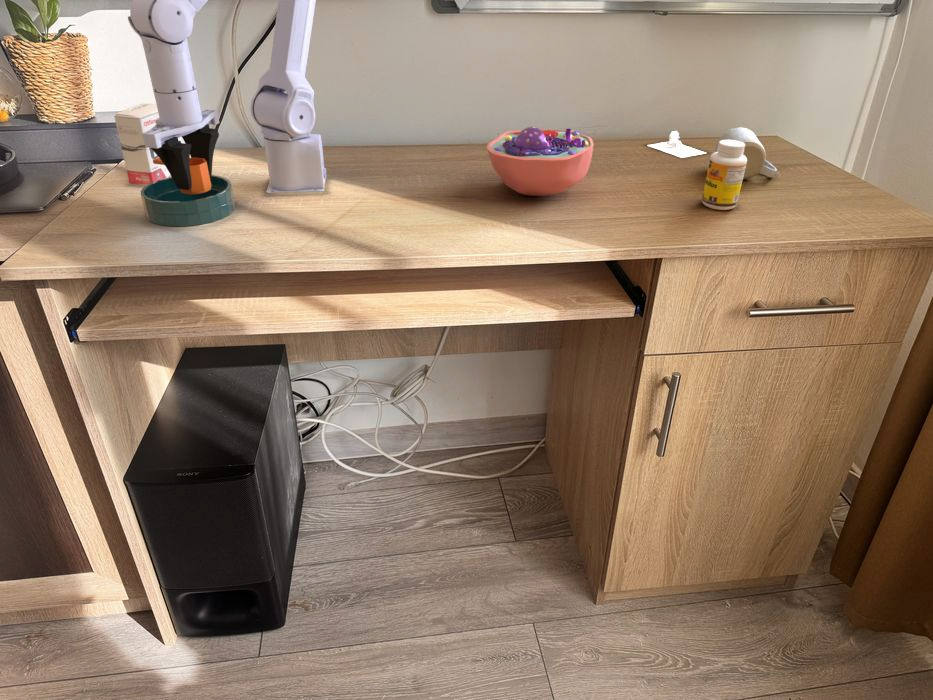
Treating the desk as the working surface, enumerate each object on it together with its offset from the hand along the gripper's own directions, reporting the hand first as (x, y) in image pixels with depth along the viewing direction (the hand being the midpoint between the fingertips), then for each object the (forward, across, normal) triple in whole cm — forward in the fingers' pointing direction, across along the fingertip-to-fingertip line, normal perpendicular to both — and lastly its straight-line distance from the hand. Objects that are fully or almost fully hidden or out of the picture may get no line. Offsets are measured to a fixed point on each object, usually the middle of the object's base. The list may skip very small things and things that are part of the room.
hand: (194, 183), depth 103 cm
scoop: (+1, 0, -2) cm, 2 cm away
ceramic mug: (+6, -50, +82) cm, 96 cm away
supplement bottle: (+5, -31, +77) cm, 83 cm away
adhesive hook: (+6, -63, +69) cm, 93 cm away
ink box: (+5, -12, -18) cm, 22 cm away
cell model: (+5, -28, +48) cm, 56 cm away
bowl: (+5, 0, -2) cm, 5 cm away
